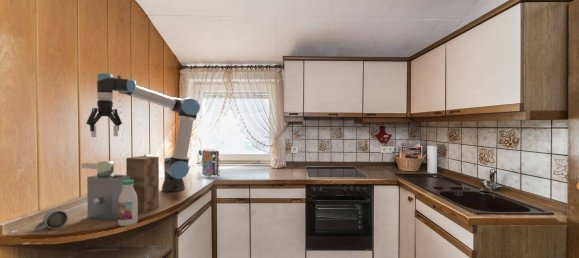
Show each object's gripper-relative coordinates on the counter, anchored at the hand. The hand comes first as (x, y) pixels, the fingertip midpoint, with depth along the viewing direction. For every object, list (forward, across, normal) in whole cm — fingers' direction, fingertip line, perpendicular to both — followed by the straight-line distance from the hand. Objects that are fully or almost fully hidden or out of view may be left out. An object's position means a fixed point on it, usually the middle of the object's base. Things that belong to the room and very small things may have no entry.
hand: (105, 136), depth 162 cm
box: (+39, -88, +9) cm, 97 cm away
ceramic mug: (+39, +37, +14) cm, 55 cm away
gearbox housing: (+39, +17, +24) cm, 49 cm away
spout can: (+19, +17, +16) cm, 30 cm away
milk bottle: (+39, +22, +42) cm, 61 cm away
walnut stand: (+39, +2, +30) cm, 49 cm away
